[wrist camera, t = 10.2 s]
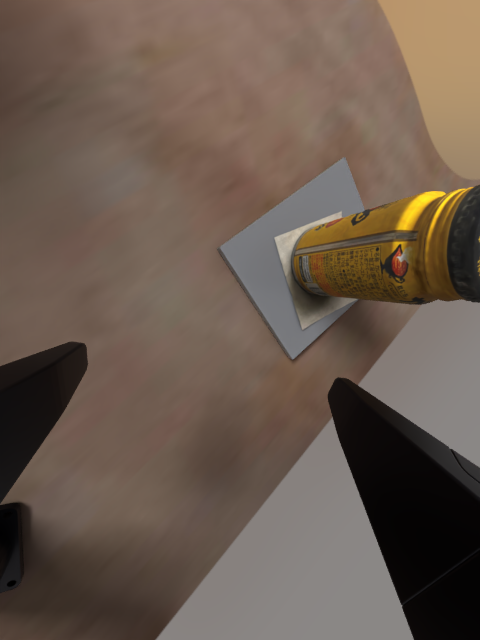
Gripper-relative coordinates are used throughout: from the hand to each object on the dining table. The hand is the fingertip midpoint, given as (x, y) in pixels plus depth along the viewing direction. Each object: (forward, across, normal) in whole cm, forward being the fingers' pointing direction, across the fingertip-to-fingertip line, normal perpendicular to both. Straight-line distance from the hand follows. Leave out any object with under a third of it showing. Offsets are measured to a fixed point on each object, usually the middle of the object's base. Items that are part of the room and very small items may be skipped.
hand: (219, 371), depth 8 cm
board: (+14, -8, -2) cm, 17 cm away
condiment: (+14, -9, -2) cm, 16 cm away
